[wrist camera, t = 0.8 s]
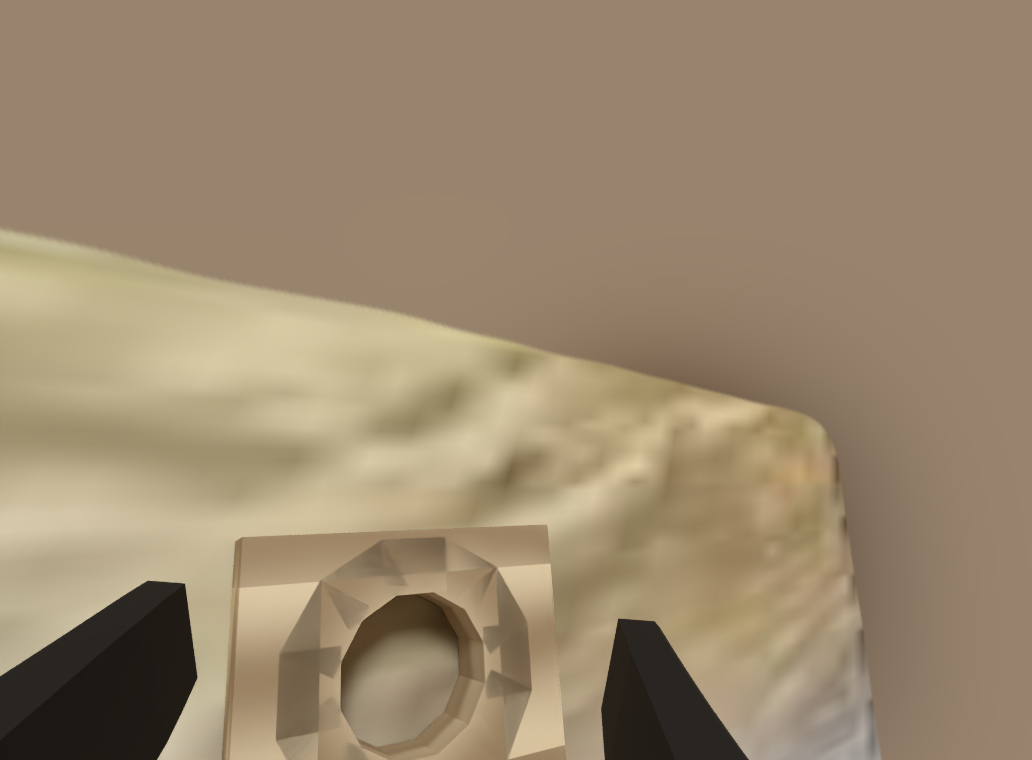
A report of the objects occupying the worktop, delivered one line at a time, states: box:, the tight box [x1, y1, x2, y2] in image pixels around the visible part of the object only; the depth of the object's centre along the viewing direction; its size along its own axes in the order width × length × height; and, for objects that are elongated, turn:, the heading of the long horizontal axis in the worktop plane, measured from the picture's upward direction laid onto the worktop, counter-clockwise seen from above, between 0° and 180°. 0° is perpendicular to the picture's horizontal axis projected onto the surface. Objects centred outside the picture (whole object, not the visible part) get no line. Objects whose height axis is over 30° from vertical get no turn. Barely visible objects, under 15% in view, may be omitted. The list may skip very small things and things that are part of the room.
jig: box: [222, 525, 566, 760], centre depth 23 cm, size 10×12×2 cm
